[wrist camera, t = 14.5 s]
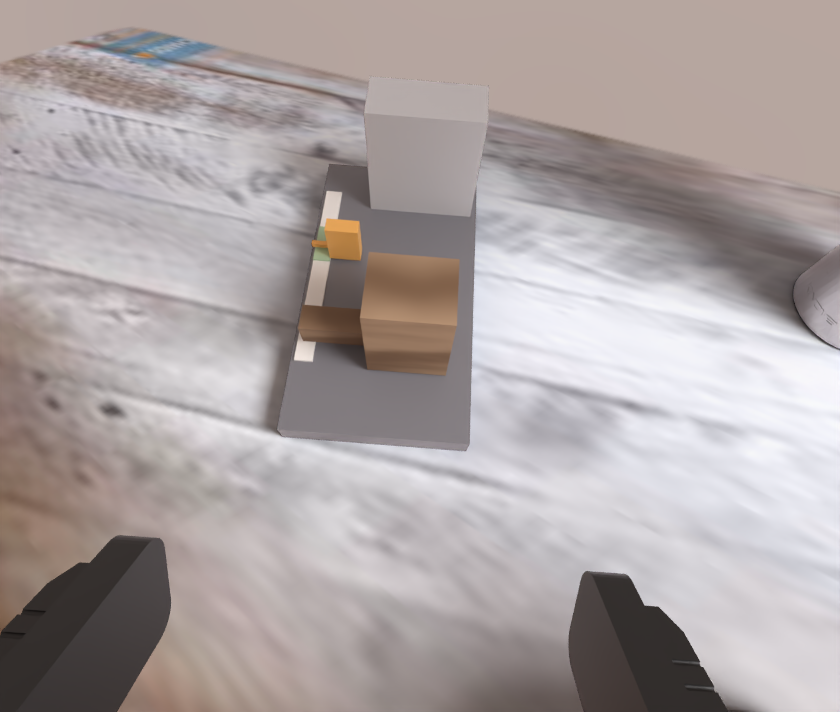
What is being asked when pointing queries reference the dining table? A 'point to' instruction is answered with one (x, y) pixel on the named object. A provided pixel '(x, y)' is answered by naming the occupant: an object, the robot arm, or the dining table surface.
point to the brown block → (396, 315)
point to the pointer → (342, 239)
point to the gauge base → (395, 234)
